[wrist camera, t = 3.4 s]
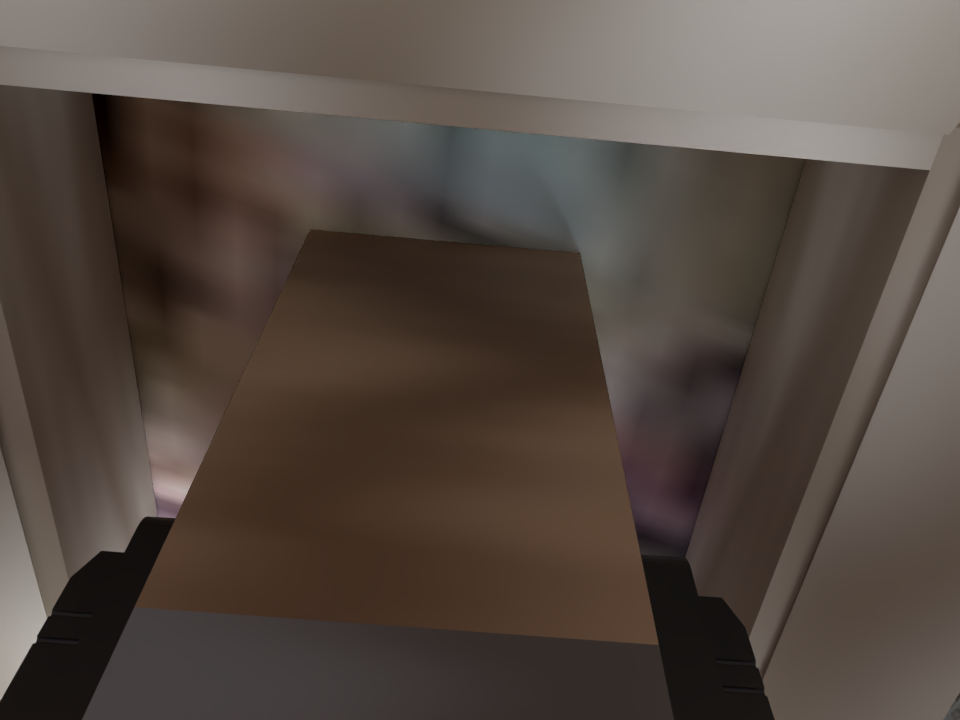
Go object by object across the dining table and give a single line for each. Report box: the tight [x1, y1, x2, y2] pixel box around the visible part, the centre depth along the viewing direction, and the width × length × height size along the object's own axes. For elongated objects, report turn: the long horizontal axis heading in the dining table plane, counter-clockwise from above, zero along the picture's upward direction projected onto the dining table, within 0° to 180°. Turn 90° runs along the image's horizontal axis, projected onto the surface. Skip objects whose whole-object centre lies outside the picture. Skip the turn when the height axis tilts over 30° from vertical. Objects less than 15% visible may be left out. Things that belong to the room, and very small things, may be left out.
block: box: [82, 230, 674, 720], centre depth 12 cm, size 4×7×10 cm, turn 175°
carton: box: [0, 0, 960, 720], centre depth 14 cm, size 16×18×5 cm
